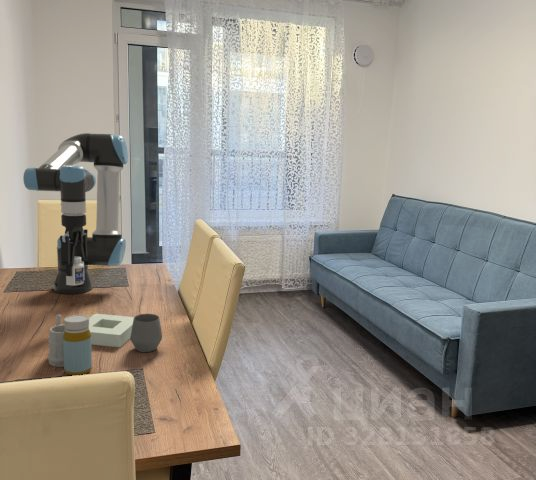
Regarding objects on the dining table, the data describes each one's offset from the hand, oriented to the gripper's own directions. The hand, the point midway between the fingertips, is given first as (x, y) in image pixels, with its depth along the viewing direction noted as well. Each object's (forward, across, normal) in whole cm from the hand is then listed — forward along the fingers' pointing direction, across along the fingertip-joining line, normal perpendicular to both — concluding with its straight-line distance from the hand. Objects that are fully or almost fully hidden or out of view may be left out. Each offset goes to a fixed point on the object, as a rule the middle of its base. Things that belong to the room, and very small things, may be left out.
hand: (75, 282), depth 167 cm
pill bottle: (+1, 0, 0) cm, 1 cm away
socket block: (+15, +7, +14) cm, 21 cm away
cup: (+15, +14, +30) cm, 36 cm away
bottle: (+14, +32, +18) cm, 40 cm away
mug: (+15, +26, +10) cm, 32 cm away
